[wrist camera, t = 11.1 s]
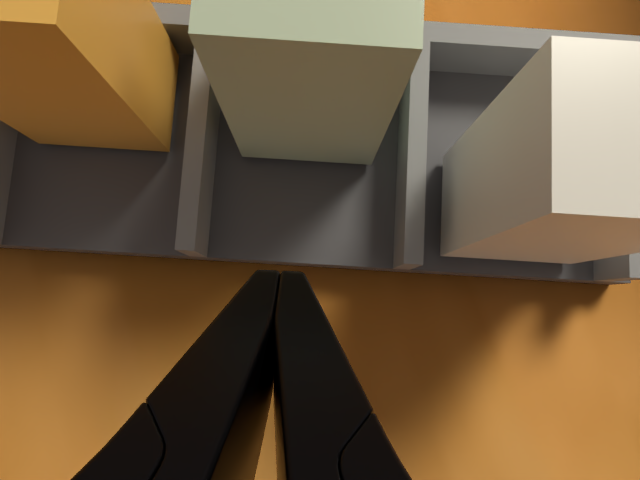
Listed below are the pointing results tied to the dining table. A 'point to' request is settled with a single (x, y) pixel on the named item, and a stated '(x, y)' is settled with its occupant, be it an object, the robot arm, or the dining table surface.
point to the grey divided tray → (283, 177)
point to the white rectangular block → (551, 161)
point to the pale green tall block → (308, 72)
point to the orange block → (87, 73)
